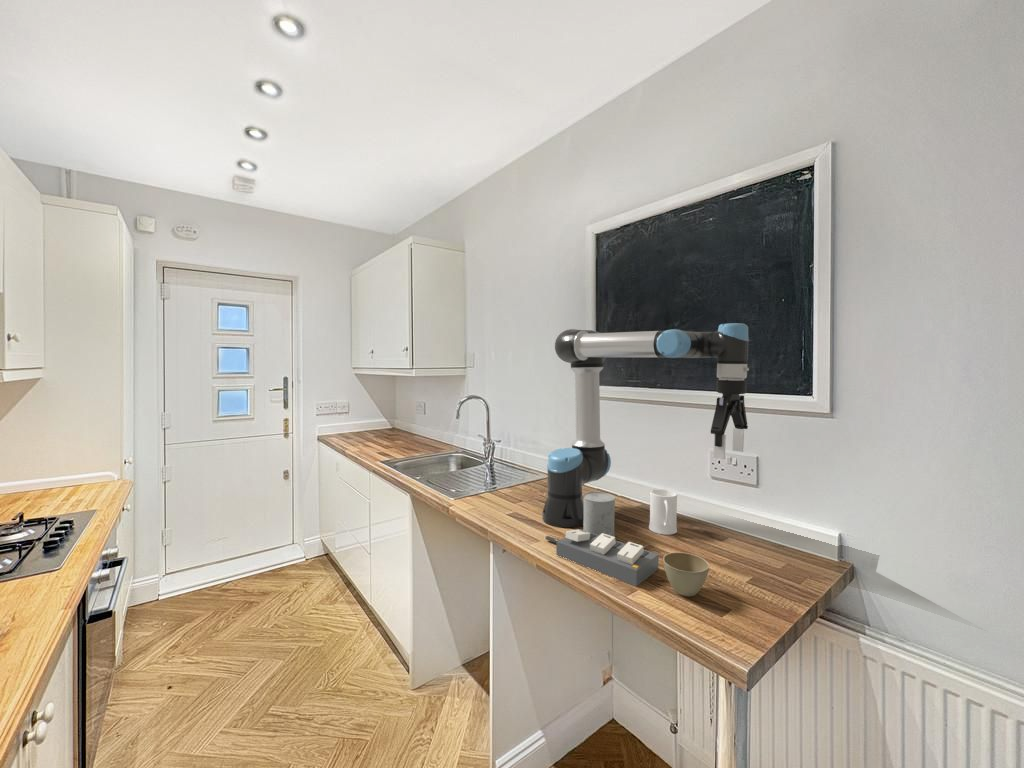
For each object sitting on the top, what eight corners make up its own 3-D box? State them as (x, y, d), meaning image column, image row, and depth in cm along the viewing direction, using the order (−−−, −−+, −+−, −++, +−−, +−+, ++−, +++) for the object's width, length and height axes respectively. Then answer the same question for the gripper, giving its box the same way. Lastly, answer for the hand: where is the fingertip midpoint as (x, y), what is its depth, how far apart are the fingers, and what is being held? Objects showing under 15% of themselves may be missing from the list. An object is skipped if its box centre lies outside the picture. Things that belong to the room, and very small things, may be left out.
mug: (679, 540, 131) (680, 501, 131) (650, 537, 134) (650, 498, 133) (675, 526, 143) (676, 489, 142) (648, 523, 145) (649, 487, 144)
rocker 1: (565, 537, 120) (566, 530, 120) (577, 535, 125) (578, 529, 125) (577, 541, 118) (578, 534, 118) (589, 539, 122) (590, 532, 122)
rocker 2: (590, 550, 115) (589, 543, 115) (602, 539, 119) (602, 532, 119) (603, 554, 112) (603, 548, 112) (615, 543, 117) (615, 536, 116)
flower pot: (655, 581, 107) (656, 552, 107) (694, 579, 108) (695, 551, 108) (674, 603, 97) (674, 572, 97) (717, 601, 98) (717, 570, 98)
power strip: (532, 546, 127) (532, 532, 127) (558, 534, 136) (558, 521, 135) (636, 586, 104) (636, 569, 104) (658, 569, 113) (658, 553, 113)
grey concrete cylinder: (616, 532, 138) (616, 493, 137) (612, 544, 129) (613, 503, 128) (585, 528, 141) (586, 490, 140) (580, 539, 132) (580, 499, 131)
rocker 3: (617, 559, 110) (617, 553, 109) (629, 547, 114) (628, 541, 113) (632, 564, 107) (631, 558, 107) (643, 552, 111) (643, 545, 111)
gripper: (728, 381, 111) (725, 464, 112) (761, 378, 128) (758, 450, 129) (698, 380, 116) (696, 459, 117) (734, 377, 133) (731, 446, 134)
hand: (728, 454), depth 123 cm, fingers open, 13 cm apart
